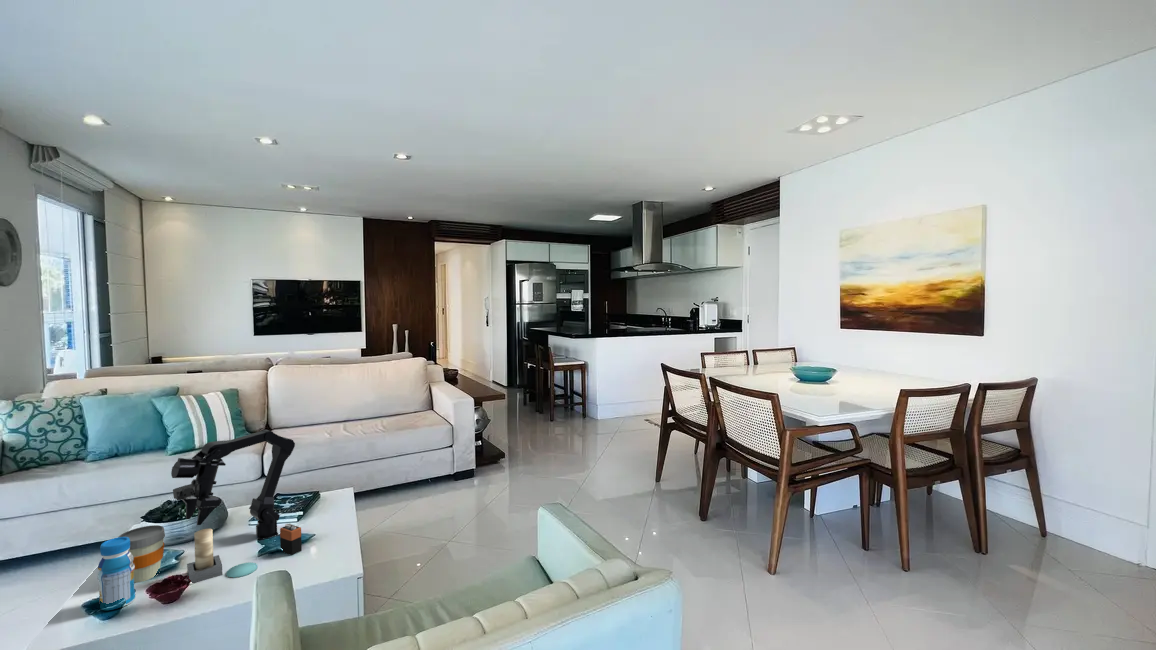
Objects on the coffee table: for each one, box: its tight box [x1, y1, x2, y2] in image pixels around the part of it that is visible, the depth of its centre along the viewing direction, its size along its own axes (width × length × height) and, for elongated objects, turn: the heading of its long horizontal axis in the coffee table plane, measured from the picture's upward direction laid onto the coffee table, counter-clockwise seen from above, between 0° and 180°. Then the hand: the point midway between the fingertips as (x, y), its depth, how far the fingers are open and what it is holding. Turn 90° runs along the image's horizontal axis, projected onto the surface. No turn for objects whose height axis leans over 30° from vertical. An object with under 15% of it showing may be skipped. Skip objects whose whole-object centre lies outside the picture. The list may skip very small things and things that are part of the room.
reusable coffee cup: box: [118, 524, 166, 584], centre depth 169 cm, size 13×13×15 cm
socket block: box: [186, 554, 223, 584], centre depth 170 cm, size 9×9×4 cm
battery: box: [279, 523, 303, 556], centre depth 186 cm, size 4×7×10 cm, turn 63°
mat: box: [225, 561, 258, 579], centre depth 172 cm, size 9×9×1 cm
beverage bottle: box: [97, 536, 136, 606], centre depth 153 cm, size 8×8×20 cm
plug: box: [193, 528, 214, 571], centre depth 170 cm, size 5×5×15 cm
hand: (193, 522), depth 178 cm, fingers open, 9 cm apart
